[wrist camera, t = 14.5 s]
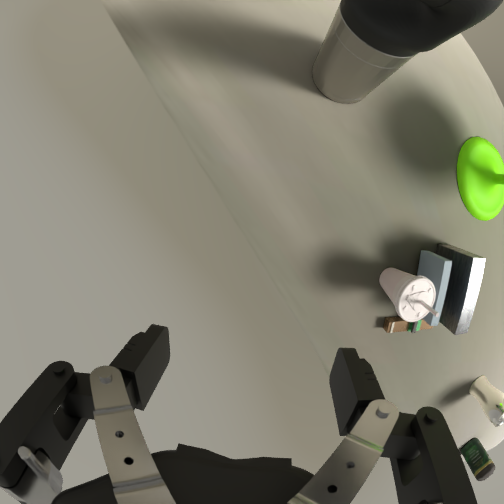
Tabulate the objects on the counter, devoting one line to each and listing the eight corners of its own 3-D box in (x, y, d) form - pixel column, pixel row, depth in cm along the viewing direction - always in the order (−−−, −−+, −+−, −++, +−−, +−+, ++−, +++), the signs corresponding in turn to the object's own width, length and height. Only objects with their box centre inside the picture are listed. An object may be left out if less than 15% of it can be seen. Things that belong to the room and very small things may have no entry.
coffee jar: (458, 449, 53) (477, 482, 35) (475, 434, 51) (496, 466, 33) (462, 454, 54) (480, 484, 36) (478, 440, 53) (498, 470, 34)
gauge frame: (397, 241, 39) (431, 256, 29) (449, 244, 38) (485, 258, 29) (383, 327, 42) (407, 358, 32) (433, 323, 42) (461, 348, 32)
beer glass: (489, 375, 45) (518, 405, 30) (474, 395, 46) (500, 427, 32) (479, 372, 45) (509, 404, 30) (463, 393, 46) (490, 428, 31)
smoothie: (396, 300, 41) (439, 340, 27) (365, 291, 41) (404, 333, 27) (410, 265, 39) (460, 295, 26) (380, 254, 39) (427, 283, 26)
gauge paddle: (421, 250, 38) (445, 261, 31) (427, 250, 38) (452, 261, 31) (405, 328, 41) (423, 348, 34) (412, 327, 41) (430, 347, 34)
